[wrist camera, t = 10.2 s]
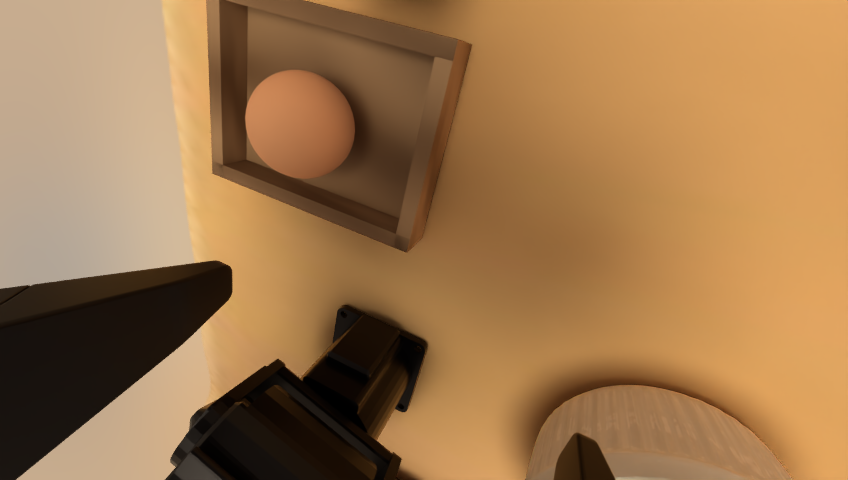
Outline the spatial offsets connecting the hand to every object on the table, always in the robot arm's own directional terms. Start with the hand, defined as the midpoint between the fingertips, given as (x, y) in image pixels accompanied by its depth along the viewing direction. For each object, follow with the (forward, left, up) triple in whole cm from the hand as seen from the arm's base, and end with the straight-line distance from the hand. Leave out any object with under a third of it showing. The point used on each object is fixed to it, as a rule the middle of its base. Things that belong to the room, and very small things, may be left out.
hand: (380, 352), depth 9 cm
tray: (+2, +10, -12) cm, 15 cm away
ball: (+2, +9, -9) cm, 13 cm away
